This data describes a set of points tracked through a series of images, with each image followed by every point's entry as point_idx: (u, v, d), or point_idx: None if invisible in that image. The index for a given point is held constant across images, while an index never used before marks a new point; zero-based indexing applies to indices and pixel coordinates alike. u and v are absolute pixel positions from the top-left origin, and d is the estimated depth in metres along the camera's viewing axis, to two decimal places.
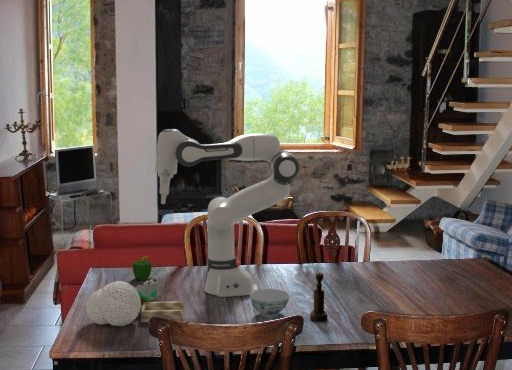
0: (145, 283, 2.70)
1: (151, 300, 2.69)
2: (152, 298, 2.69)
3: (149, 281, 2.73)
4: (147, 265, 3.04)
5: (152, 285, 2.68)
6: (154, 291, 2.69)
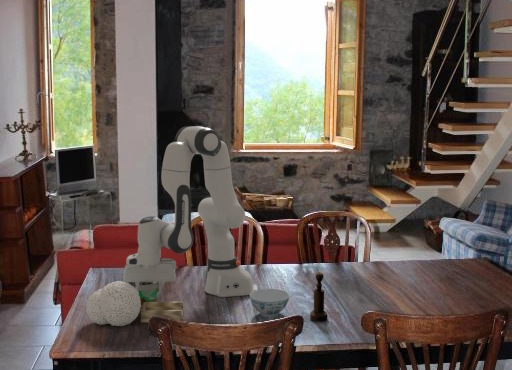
0: (146, 283, 2.70)
1: (151, 300, 2.69)
2: (153, 298, 2.69)
3: None
4: None
5: (153, 285, 2.67)
6: (154, 291, 2.69)
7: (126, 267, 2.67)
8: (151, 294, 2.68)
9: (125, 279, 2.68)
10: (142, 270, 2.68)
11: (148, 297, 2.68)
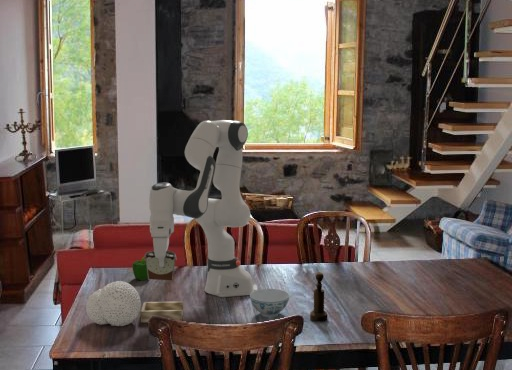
0: None
1: None
2: None
3: None
4: None
5: None
6: None
7: (167, 240, 2.46)
8: None
9: (165, 254, 2.47)
10: None
11: None
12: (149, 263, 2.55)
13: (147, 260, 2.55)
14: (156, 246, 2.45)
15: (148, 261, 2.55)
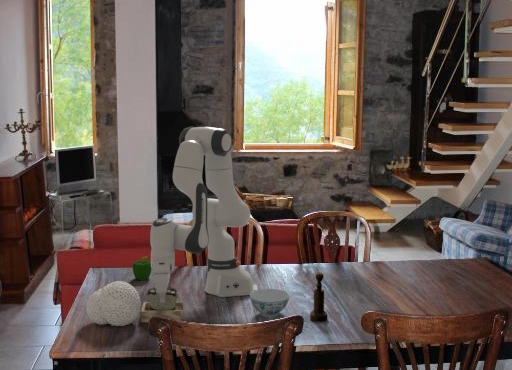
0: None
1: None
2: None
3: None
4: (147, 265, 3.04)
5: None
6: None
7: (168, 276, 2.49)
8: None
9: (166, 290, 2.49)
10: None
11: None
12: (151, 300, 2.56)
13: (149, 297, 2.56)
14: (157, 283, 2.47)
15: (150, 298, 2.56)
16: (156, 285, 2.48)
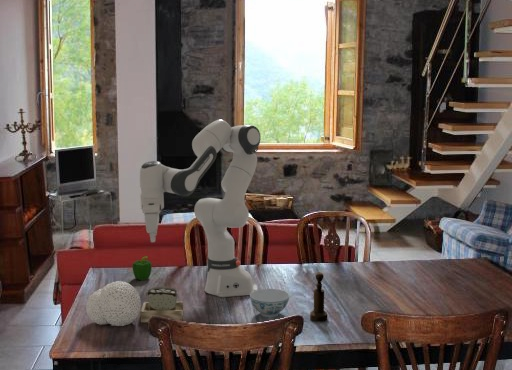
0: (165, 291, 2.56)
1: None
2: None
3: (157, 291, 2.57)
4: (147, 265, 3.04)
5: None
6: None
7: (157, 216, 2.58)
8: None
9: (156, 229, 2.58)
10: None
11: None
12: (151, 300, 2.56)
13: (149, 297, 2.56)
14: (147, 222, 2.57)
15: (150, 298, 2.56)
16: (146, 224, 2.57)
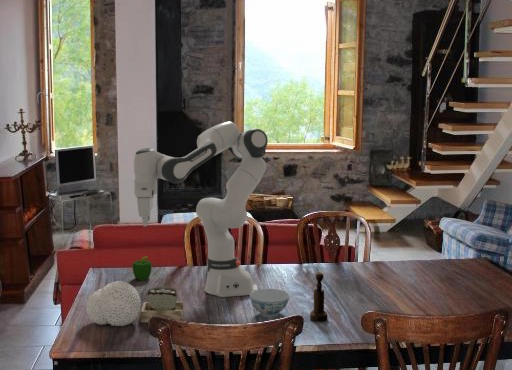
0: (165, 291, 2.56)
1: None
2: None
3: (157, 291, 2.57)
4: (147, 265, 3.04)
5: None
6: None
7: (150, 200, 2.67)
8: None
9: (148, 213, 2.67)
10: None
11: None
12: (151, 300, 2.56)
13: (149, 297, 2.56)
14: (140, 206, 2.66)
15: (150, 298, 2.56)
16: (139, 208, 2.66)
